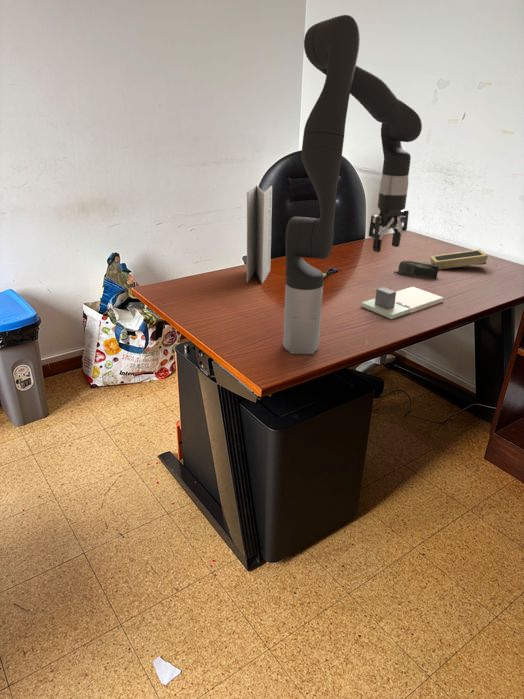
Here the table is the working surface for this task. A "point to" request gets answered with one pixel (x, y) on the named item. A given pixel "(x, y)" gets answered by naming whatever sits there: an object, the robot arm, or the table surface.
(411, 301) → the cream panel
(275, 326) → the table surface
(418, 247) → the table surface
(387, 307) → the stub
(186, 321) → the table surface
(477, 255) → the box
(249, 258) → the brochure
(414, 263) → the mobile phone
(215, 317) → the table surface
